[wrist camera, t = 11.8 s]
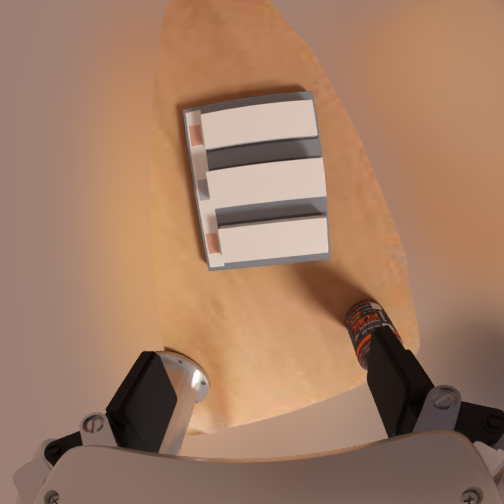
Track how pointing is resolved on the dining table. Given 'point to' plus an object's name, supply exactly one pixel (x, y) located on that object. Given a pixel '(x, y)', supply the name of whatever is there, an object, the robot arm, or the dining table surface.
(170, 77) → the dining table surface
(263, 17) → the dining table surface
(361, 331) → the supplement bottle
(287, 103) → the switch
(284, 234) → the switch
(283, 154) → the switch board
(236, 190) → the middle switch
